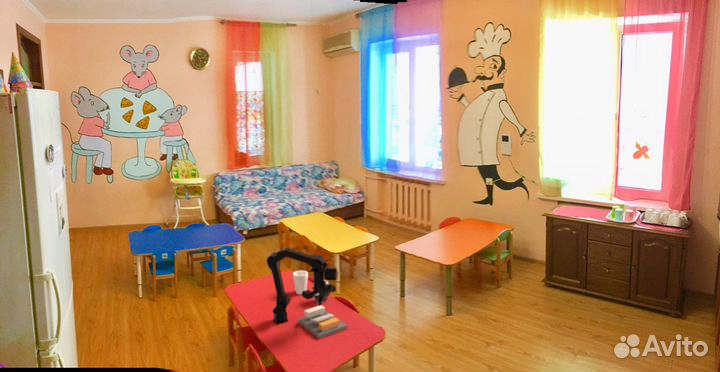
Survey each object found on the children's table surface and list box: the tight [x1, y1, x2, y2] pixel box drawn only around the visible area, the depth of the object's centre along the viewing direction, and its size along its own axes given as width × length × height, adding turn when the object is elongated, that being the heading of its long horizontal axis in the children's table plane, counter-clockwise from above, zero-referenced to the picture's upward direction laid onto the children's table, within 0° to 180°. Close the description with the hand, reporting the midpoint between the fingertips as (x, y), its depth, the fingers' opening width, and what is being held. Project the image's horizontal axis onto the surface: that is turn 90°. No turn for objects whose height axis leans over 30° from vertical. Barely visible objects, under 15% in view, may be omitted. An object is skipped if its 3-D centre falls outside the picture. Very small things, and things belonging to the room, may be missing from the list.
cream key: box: [304, 304, 326, 318], centre depth 276 cm, size 11×4×3 cm, turn 126°
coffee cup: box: [321, 279, 330, 304], centre depth 301 cm, size 9×9×12 cm
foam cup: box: [292, 270, 309, 296], centre depth 312 cm, size 10×9×13 cm
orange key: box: [319, 316, 341, 331], centre depth 265 cm, size 11×4×3 cm, turn 126°
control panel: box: [297, 310, 348, 340], centre depth 271 cm, size 18×22×4 cm
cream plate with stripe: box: [311, 313, 335, 322], centre depth 270 cm, size 11×7×1 cm, turn 126°
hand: (319, 305), depth 271 cm, fingers closed
